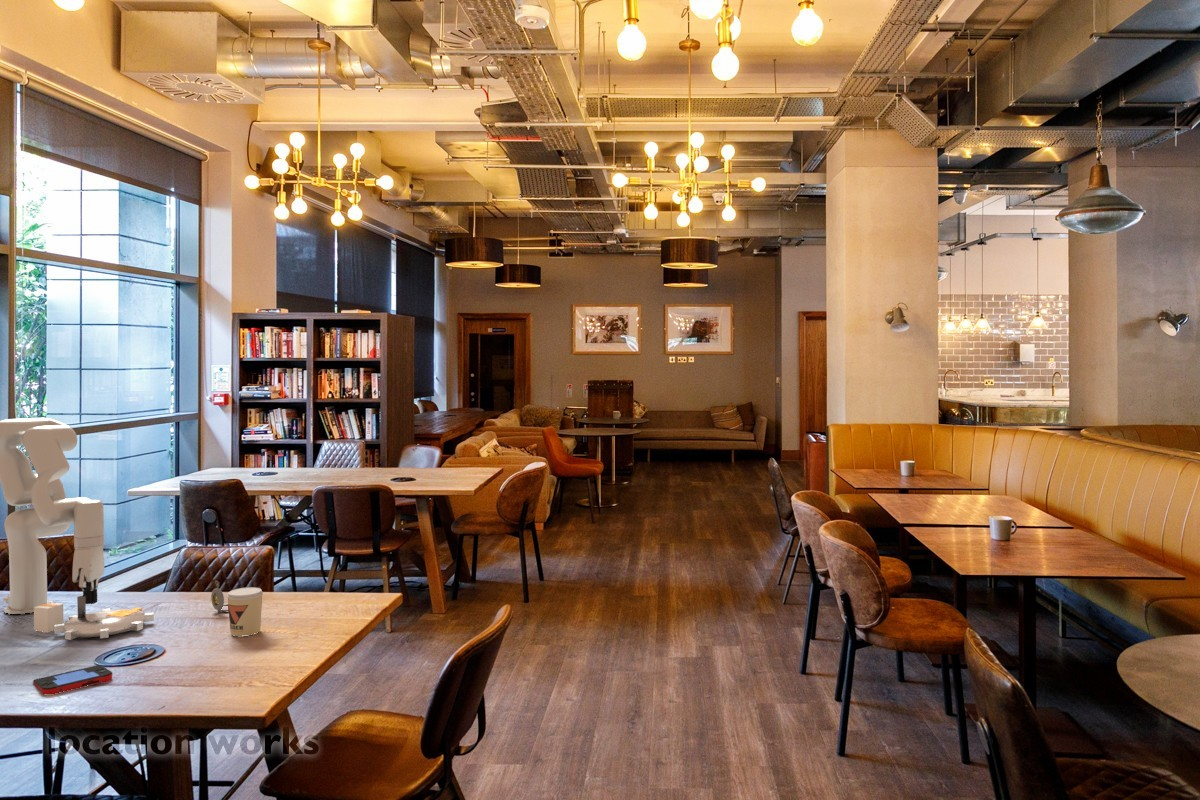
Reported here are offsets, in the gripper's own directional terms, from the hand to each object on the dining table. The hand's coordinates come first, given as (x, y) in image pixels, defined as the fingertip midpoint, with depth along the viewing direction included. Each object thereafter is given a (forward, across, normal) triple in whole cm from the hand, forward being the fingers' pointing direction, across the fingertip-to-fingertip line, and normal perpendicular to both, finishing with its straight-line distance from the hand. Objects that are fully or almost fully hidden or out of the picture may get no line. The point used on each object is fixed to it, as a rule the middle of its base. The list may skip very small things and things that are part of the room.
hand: (90, 603), depth 242 cm
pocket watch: (+6, -7, +36) cm, 37 cm away
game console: (+6, +50, +18) cm, 54 cm away
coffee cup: (+6, +17, +49) cm, 52 cm away
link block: (+6, +6, -8) cm, 12 cm away
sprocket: (+5, +9, +8) cm, 12 cm away
